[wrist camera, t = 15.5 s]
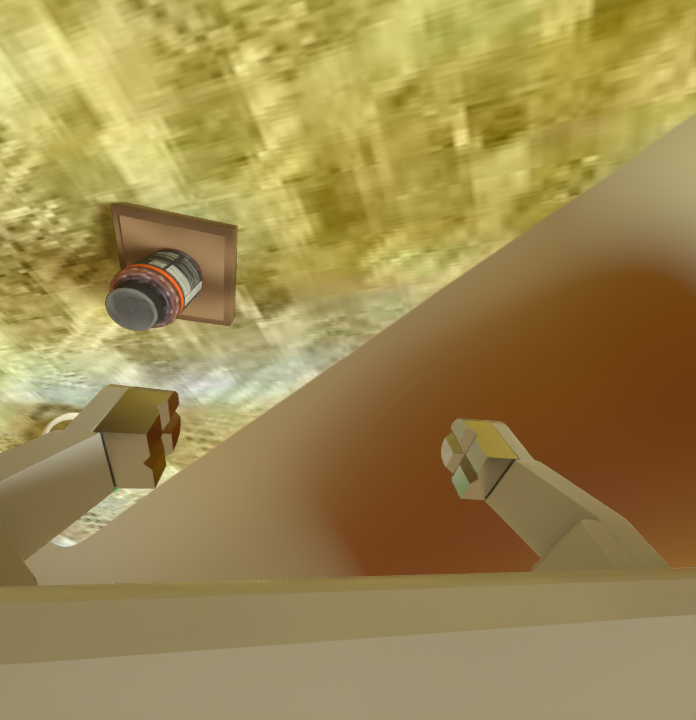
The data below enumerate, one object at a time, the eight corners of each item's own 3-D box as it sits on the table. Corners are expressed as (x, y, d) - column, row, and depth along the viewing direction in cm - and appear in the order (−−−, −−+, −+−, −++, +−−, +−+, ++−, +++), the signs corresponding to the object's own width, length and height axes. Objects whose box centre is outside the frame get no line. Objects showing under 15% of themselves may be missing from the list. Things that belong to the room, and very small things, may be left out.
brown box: (125, 202, 34) (109, 205, 31) (237, 225, 36) (231, 230, 33) (139, 302, 40) (126, 312, 37) (234, 317, 42) (229, 327, 39)
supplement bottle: (163, 301, 37) (113, 346, 27) (139, 251, 33) (72, 282, 24) (213, 294, 37) (179, 336, 27) (193, 243, 34) (148, 270, 24)
